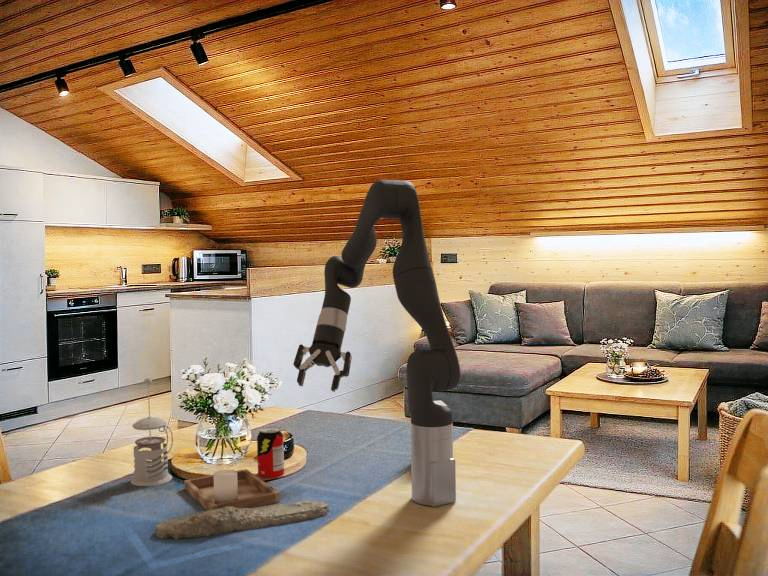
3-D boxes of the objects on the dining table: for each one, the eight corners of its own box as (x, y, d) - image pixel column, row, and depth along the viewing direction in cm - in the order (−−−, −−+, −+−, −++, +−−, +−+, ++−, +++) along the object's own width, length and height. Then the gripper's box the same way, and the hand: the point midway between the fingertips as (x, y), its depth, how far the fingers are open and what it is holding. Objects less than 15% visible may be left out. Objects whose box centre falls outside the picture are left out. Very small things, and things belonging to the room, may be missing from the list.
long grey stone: (336, 530, 150) (322, 516, 160) (336, 504, 150) (322, 491, 160) (157, 549, 138) (153, 532, 147) (157, 520, 138) (154, 506, 147)
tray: (279, 506, 160) (279, 492, 160) (212, 520, 152) (212, 506, 152) (246, 481, 177) (246, 469, 177) (184, 493, 169) (184, 480, 169)
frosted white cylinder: (241, 506, 157) (240, 474, 157) (218, 510, 155) (218, 478, 154) (233, 499, 162) (232, 468, 161) (211, 503, 159) (210, 472, 159)
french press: (121, 482, 177) (117, 380, 176) (157, 469, 188) (153, 372, 186) (151, 488, 173) (147, 383, 171) (186, 474, 183) (182, 374, 182)
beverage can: (275, 472, 184) (274, 424, 183) (289, 478, 179) (288, 429, 178) (253, 477, 180) (252, 429, 179) (266, 483, 175) (265, 434, 174)
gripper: (301, 319, 189) (286, 379, 183) (355, 327, 187) (341, 388, 180) (307, 330, 196) (292, 388, 189) (359, 337, 193) (346, 396, 187)
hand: (316, 388), depth 185 cm, fingers open, 8 cm apart
